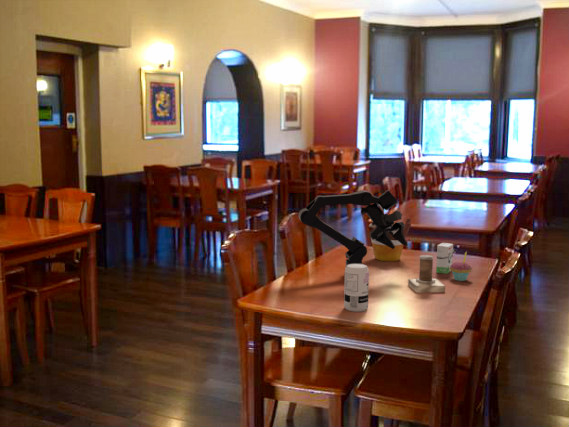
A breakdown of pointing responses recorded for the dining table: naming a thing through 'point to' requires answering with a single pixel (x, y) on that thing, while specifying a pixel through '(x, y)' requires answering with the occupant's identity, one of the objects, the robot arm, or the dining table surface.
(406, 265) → the dining table surface
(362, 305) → the supplement can
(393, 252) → the bucket of meat
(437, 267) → the ink box
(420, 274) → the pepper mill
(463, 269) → the cupcake
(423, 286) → the birch block
